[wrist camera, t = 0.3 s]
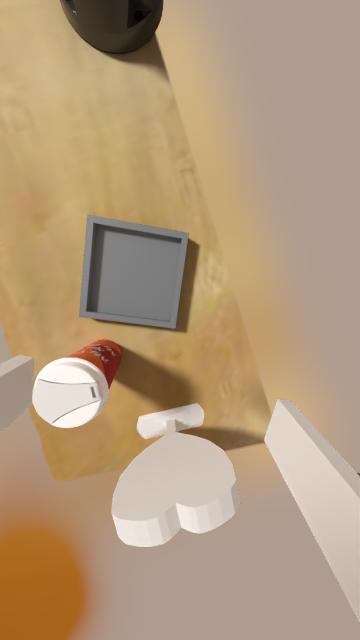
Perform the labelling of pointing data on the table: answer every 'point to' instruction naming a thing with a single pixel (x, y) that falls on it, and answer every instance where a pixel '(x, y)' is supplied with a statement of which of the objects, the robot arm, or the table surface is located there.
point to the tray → (132, 272)
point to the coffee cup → (76, 385)
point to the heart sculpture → (174, 482)
